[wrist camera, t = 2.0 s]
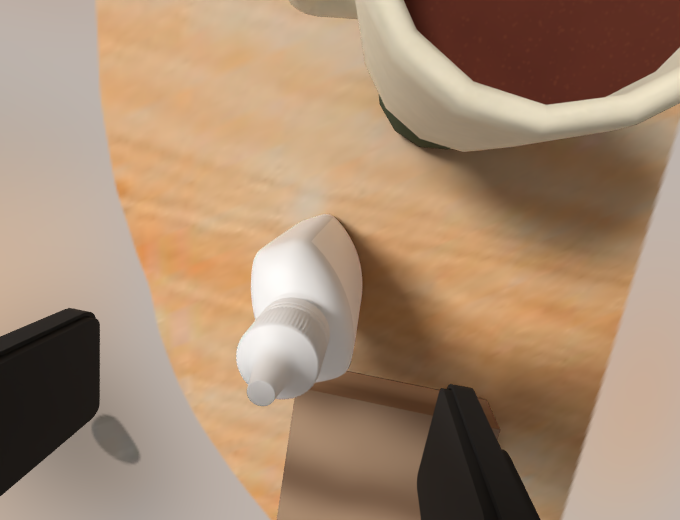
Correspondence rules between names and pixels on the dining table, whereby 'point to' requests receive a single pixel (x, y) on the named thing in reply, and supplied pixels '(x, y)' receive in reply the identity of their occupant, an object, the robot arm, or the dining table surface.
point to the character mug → (515, 66)
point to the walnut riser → (358, 449)
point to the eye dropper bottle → (301, 311)
